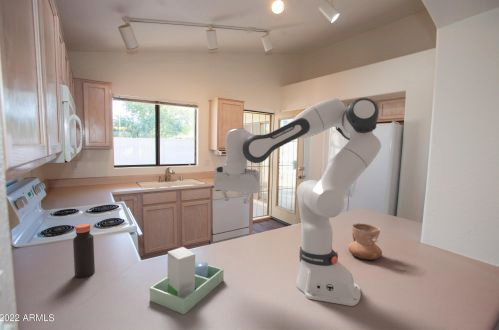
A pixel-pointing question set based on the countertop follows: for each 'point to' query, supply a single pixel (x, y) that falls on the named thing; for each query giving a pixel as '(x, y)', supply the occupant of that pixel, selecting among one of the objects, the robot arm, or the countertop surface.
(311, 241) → the robot arm
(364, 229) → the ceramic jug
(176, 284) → the skincare box
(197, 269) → the light blue rounded cone
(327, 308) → the countertop surface
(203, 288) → the green divided tray
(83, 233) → the vinegar
